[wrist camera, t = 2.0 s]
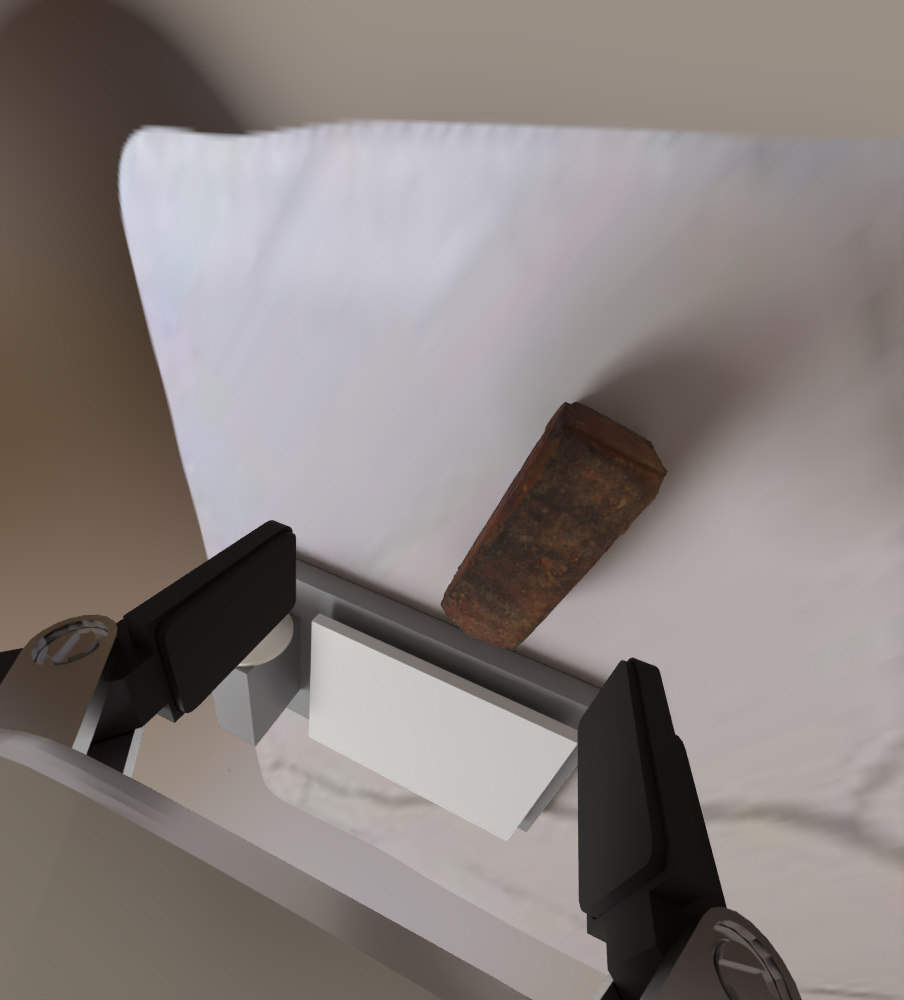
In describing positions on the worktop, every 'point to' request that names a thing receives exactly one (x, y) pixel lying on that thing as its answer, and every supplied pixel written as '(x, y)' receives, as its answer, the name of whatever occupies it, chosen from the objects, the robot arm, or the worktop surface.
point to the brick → (552, 524)
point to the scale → (413, 702)
